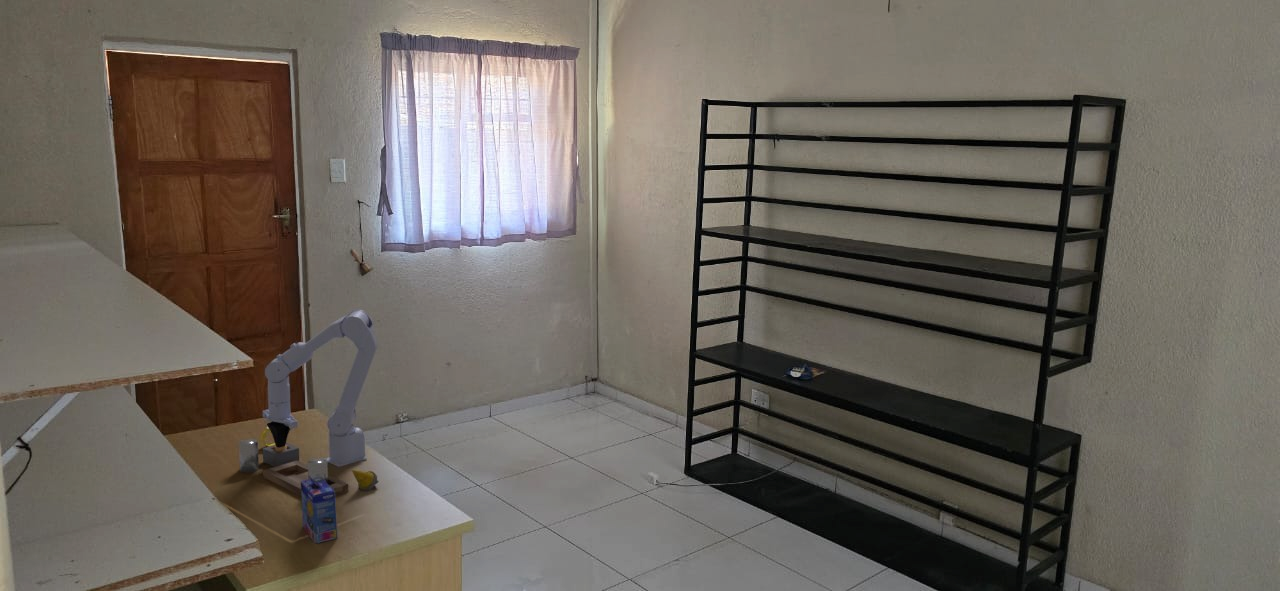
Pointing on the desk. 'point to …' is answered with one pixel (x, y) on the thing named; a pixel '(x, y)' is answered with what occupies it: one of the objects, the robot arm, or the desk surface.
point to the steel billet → (248, 455)
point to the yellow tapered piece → (365, 479)
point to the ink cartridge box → (319, 510)
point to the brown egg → (281, 448)
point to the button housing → (280, 455)
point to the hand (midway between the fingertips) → (280, 446)
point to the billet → (318, 469)
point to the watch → (264, 436)
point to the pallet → (298, 477)
